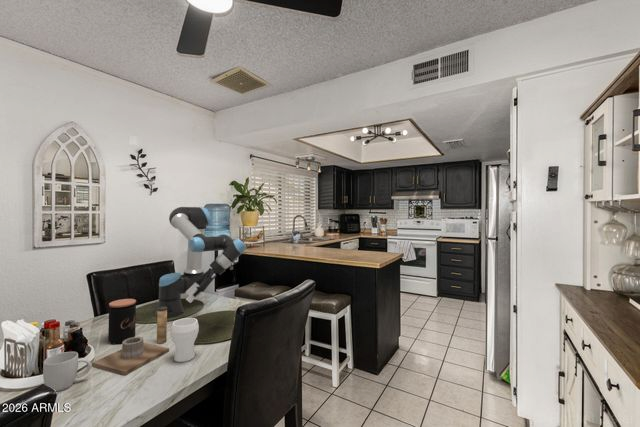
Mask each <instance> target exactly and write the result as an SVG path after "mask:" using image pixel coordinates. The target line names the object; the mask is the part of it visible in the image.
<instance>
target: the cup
mask: <svg viewBox="0 0 640 427" xmlns="http://www.w3.org/2000/svg"><path fill="white" fill-rule="evenodd" d="M170 328H171V329H170V338H171V341H172V342H173V344H174V346H175V352H174V358H173V359H174V361H175V362H177V363H184V362H189V361H190V360H193V359H194V357H195V356H196V355H195V349H194V347H195V346H194V345H195V342H196V339H197V338H198V333H199V332H200V331H199V328H200V325H199V322H198V319H197V318H194V317H185V318H180V319H177V320H174V321H173V323H172V324H171V327H170Z"/></svg>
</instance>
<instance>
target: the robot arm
mask: <svg viewBox="0 0 640 427" xmlns="http://www.w3.org/2000/svg"><path fill="white" fill-rule="evenodd" d="M168 220H169V224H170V225H171V227H173V228H174V229H176V230H178V231H179V232H180V233H181V234H182V235H183V236H184V238H186V240H187V254H186V268H185V269H184V270H183V274H182V273H180V272H171V273H167V274H164V275H162V276H161V277H160V278H159V281H158V282H159V283H158V302H157V305H156V306H157V307H156V309H155V311H154V315H155V317H157V308H159V307H167V318H171V317H176V315H177V316H179V315H181V314H183V313H184V306H183V303H182V300H181V296H182V295H183V294H187V295H188V296H187V298H186V299H185V300H186V301H187V302H189V303H190V304H191V303H192V302H193V301H194V300H196V298H197V297H199V295H200V294H201V293H204V291H205V290H206V289H207V288H208V287H209V285H210V284H211V283H212V282H213V281H214V279H215V278H216V277H217V274H218V275H219V276H222V274H223V273H224V272H225V271H226V269H227V270H228V268H230V267H232V264H233V263H234V262H235V261H236V260H237V259H238V258H239V257H240V256H241V255H242V254H243V253H244V252H245V251H246V250H247V248H248V247H247V245H246V244H245V243H244V242H243V241H242V239H240V238H238V237H237V238H235V239H233V238H232V237H231V236H230V235H228V234H226V233H224V232H223V233H219V234H217V235H215V236H206V235H205V234H204V231H206V230H207V227H208V226H209V225H210V224H211V220H212V218H211V214H210V212H209V209H207V208H206V207H199V206H197V207H196V206H180V207H177V208H175V209H173V210H171V212H170V214H169V216H168ZM214 251H215V252H216V251H217V252H218V251H222V252H221V253H220V254H218V256H217V257H216V258H215V260H213V261H212V262H211V263H210V264H209V267H210V268H209V269H208V270H206V271H205V272H204V269H203V268H202V261H203V259H202V257H203V252H214ZM182 312H183V313H182Z"/></svg>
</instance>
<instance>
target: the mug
mask: <svg viewBox="0 0 640 427" xmlns="http://www.w3.org/2000/svg"><path fill="white" fill-rule="evenodd" d="M79 363H85V364H86V365H87V368H86V370H84V371H83V372H81V373H78V367H79ZM91 369H92V361H91V360H89V358H85V357H82V358H80V357H79V353H78V352H77V351H66V352H60V353H57V354H53V355H51V356H49V357H47V358H46V359H44V360H43V367H42V377H43V383H44V386H45V385H48V386H50V387H52V388H53V389H55V390H56V392H60V391H63V390H66V389H68V388H70V387H71V386H72V385H73V384H74V382H75V379H79V378H81V377H82V378H83V377H85V376H86V375H87V374H88V373H89V372H90V370H91ZM77 373H78V374H77Z"/></svg>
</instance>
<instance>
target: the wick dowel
mask: <svg viewBox="0 0 640 427" xmlns="http://www.w3.org/2000/svg"><path fill="white" fill-rule="evenodd" d="M156 309H157V316H156V319H157V320H156V344H158V345H161V344H164V343H167V336H168V335H167V330H168V328H167V327H168V326H167V325H168V317H167V307H159V308H157V307H156Z"/></svg>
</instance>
